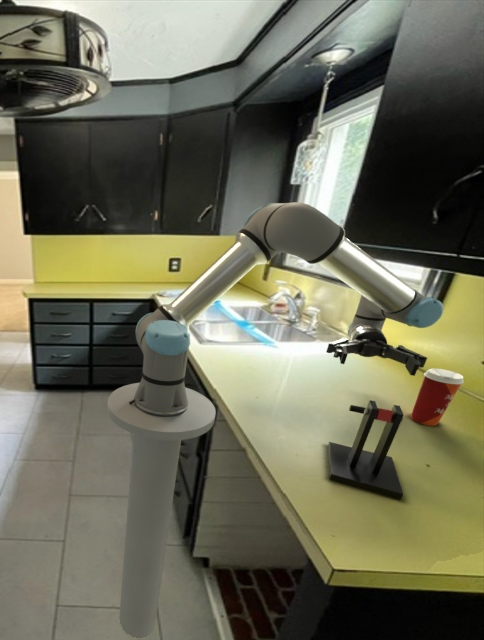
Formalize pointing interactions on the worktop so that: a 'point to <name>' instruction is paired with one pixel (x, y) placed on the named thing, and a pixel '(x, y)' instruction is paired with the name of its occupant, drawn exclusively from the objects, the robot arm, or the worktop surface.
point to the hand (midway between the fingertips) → (378, 364)
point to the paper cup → (435, 395)
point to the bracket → (368, 457)
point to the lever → (381, 414)
